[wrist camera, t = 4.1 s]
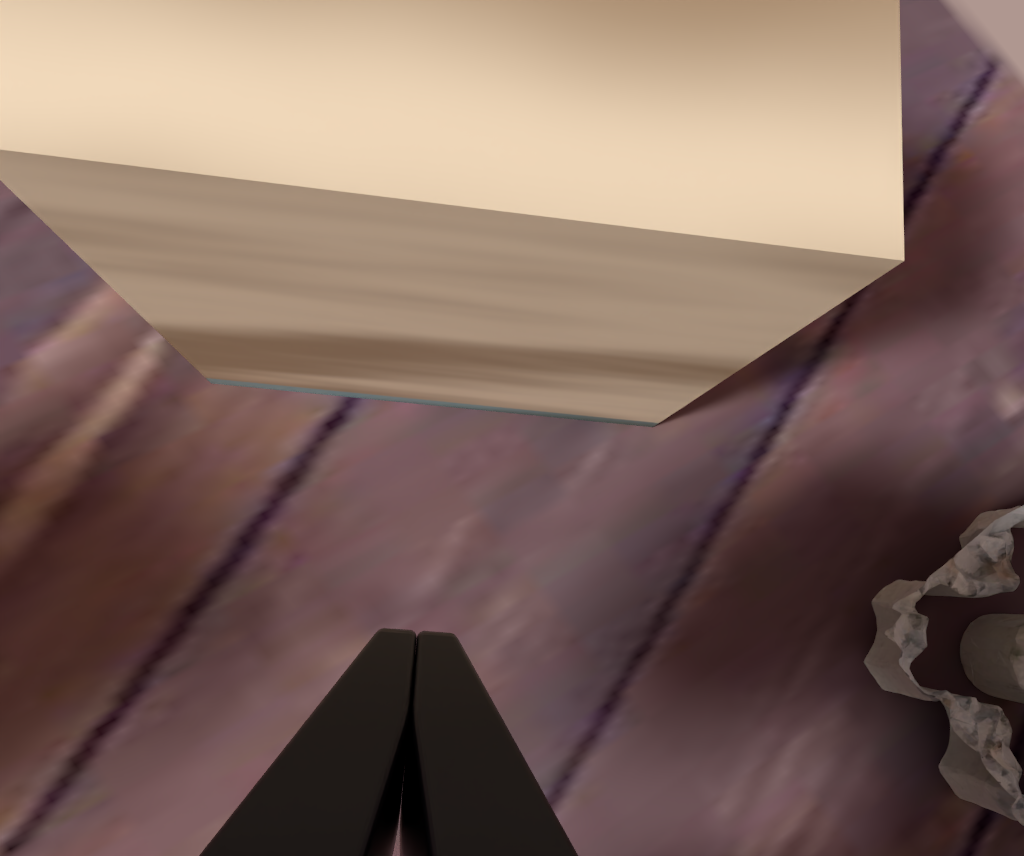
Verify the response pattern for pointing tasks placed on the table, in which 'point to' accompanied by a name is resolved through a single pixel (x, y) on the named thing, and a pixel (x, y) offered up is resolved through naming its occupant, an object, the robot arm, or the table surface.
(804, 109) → the birch block
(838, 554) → the table surface
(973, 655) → the egg carton
